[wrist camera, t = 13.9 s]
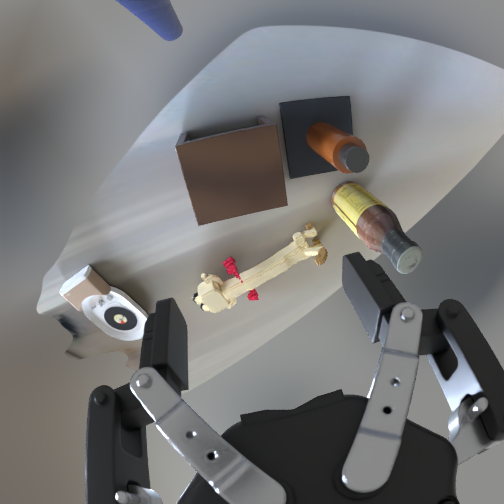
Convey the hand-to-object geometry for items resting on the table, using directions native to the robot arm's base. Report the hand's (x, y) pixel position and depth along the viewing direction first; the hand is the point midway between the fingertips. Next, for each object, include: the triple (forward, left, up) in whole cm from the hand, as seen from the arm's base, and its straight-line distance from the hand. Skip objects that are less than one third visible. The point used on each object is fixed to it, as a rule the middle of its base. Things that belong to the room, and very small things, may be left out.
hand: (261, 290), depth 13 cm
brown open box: (+3, 0, -32) cm, 32 cm away
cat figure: (+23, 0, -32) cm, 39 cm away
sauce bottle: (+13, +18, -32) cm, 39 cm away
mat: (+2, +14, -32) cm, 35 cm away
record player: (+26, -30, -32) cm, 51 cm away
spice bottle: (+2, +14, -31) cm, 34 cm away
